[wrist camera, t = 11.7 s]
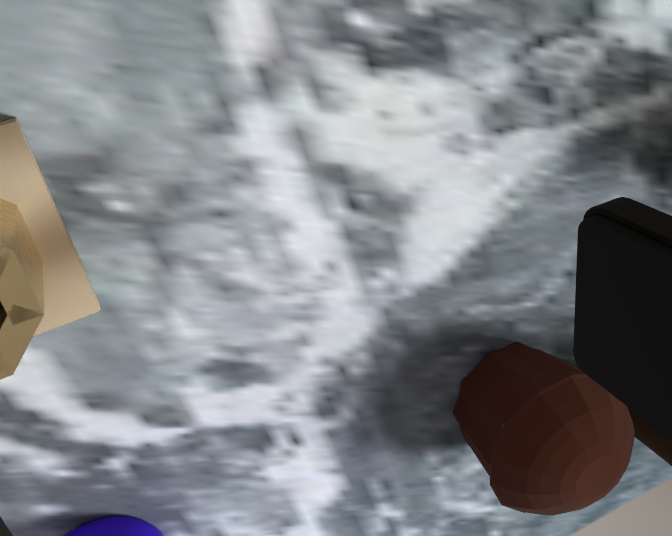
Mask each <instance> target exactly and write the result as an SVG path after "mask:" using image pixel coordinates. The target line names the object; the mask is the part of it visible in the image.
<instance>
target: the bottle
mask: <svg viewBox="0 0 672 536" xmlns="http://www.w3.org/2000/svg"><path fill="white" fill-rule="evenodd" d="M65 536H163V534H162V533H161V532H160V531H159V530H158V529H157V528H156V527H154V526H153V525H151V524H149V523H148V522H146V521H143V520H141V519H137V518H133V517H126V516H115V517H106V518H101V519H97V520H94V521H91V522H88V523H86V524H83V525H81V526H79V527H77V528H75V529H74V530H72V531H70V532H69V533H68V534H66V535H65Z"/></svg>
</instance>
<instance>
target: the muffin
mask: <svg viewBox="0 0 672 536" xmlns="http://www.w3.org/2000/svg"><path fill="white" fill-rule="evenodd" d="M453 414H454V416H455V417H456V419H457V421H458V422H459V424H460V428H461V431H462V434H463V437H464V438H465V440H466V441H467V443H468V444H469V446H470V447H471V449H472V450H473V452H474V453H475V455H476V456H477V458H478V459H479V461H480V462H481V464H482V465H483V467H484V468H485V470H486V471H487V473H488V474H489V476H490V486H491V487H492V489H493V491H494V493H495V494H496V496H497V498H498V500H499V501H500V503H501V505H503V506H506V507H509V508H512V509H515V510H518V511H520V512H523V513H525V512H527V513H534V514H541V515H557V514H561V513H566V512H571V511H576V510H580V509H583V508H585V507H587V506H589V505H591V504H593V503H594V502H596V501H598V500H599V499H601V498H603V497H605V496H606V495H607V494H608V493H609V492H610V491H611V490H612V489H613V488H614V487H615V486H616V485H617V484H618V482H619V481H620V479H621V477H622V475H623V474H624V472H625V470H626V469H627V466H628V464H629V462H630V458H631V452H632V447H633V442H634V436H635V431H634V426H633V422H632V419H631V416H630V413H629V410H628V408H627V406H626V405H625V404H623V403H622V402H621V401H620V400H618V399H617V398H616V397H614V396H613V395H612V394H611V393H609V392H608V391H607V390H605V389H604V388H603V387H601V386H600V385H599V384H598V383H596V382H595V381H594V380H592V379H591V378H590V377H589V376H587V375H586V374H585V373H584V372H583V371H582V370H581V369H579V368H577V367H575V366H573V365H571V364H569V363H566V362H564V361H562V360H560V359H558V358H556V357H554V356H552V355H549V354H547V353H545V352H543V351H541V350H537V349H533V348H530V347H528V346H526V345H523V344H521V343H519V342H516V343H514V344H511V345H509V346H507V347H505V348H503V349H500V350H496V351H493V352H489V353H487V354H486V355H485V356H484V357H483V359H482V360H481V361H480V362H479V364H478V365H477V366H476V367H475V369H473V370H472V371H471V372H470V373H469V374H468V375H467V376H466V377H465V378H464V379H463V380H462V382H461V387H460V392H459V397H458V400H457V403H456V405H455V408H454V411H453Z"/></svg>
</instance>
